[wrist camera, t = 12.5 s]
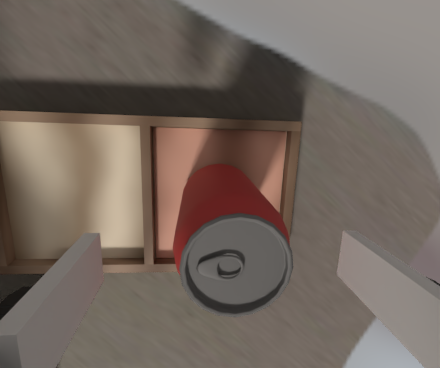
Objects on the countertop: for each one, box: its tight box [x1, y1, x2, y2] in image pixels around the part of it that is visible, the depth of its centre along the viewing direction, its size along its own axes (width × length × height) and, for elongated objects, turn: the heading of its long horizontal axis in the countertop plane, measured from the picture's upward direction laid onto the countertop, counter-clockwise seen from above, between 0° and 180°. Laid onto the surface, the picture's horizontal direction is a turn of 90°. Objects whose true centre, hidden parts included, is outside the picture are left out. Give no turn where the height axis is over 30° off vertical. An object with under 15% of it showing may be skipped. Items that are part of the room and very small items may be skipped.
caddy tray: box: [0, 110, 302, 274], centre depth 24 cm, size 26×14×3 cm, turn 88°
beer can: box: [173, 164, 293, 317], centre depth 19 cm, size 7×7×12 cm
